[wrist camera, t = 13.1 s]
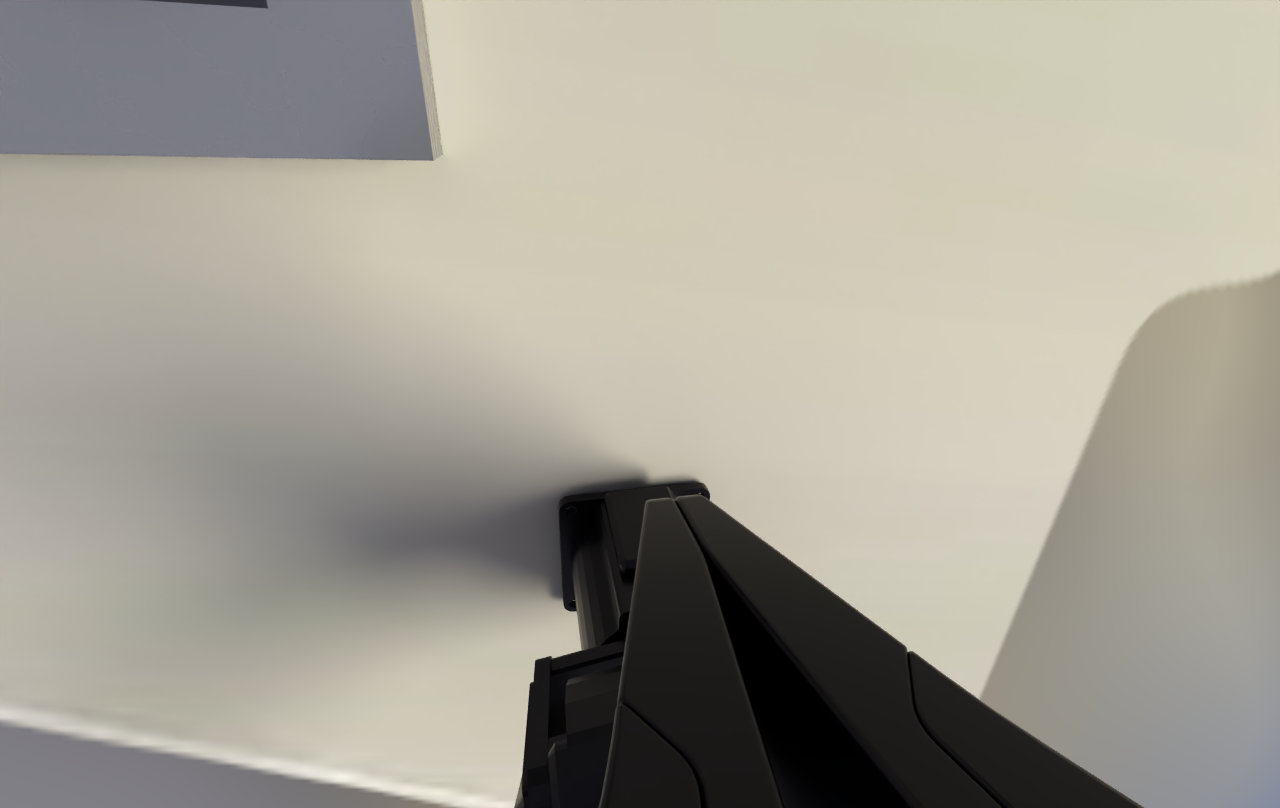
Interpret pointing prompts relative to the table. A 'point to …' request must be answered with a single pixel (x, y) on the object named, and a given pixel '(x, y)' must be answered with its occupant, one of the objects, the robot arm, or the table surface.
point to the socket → (217, 79)
